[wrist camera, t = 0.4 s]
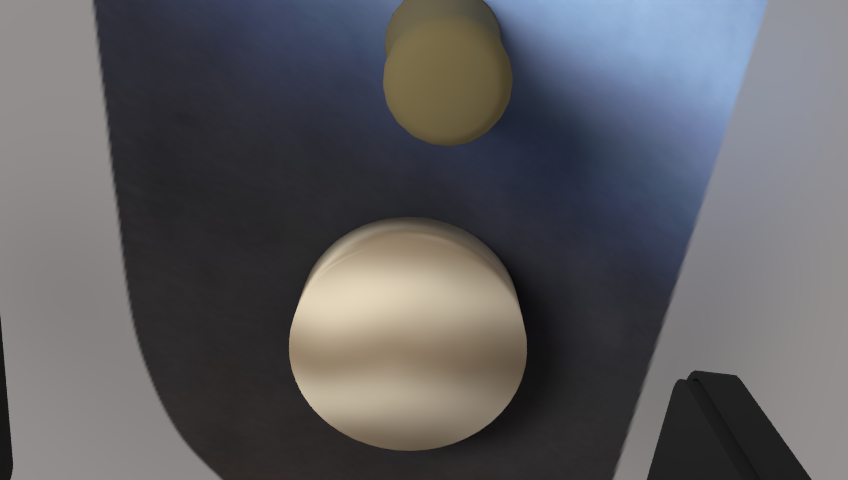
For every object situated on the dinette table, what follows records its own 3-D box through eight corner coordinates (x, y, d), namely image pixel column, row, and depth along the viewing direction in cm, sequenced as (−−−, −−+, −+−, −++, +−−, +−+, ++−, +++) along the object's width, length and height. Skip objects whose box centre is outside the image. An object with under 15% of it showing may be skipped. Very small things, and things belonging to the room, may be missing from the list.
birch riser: (306, 204, 43) (295, 231, 39) (536, 229, 43) (546, 258, 39) (295, 398, 48) (283, 438, 44) (500, 419, 48) (506, 461, 44)
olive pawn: (401, -31, 38) (391, -13, 28) (517, 3, 38) (549, 33, 28) (372, 87, 40) (353, 143, 30) (482, 117, 41) (500, 182, 30)
